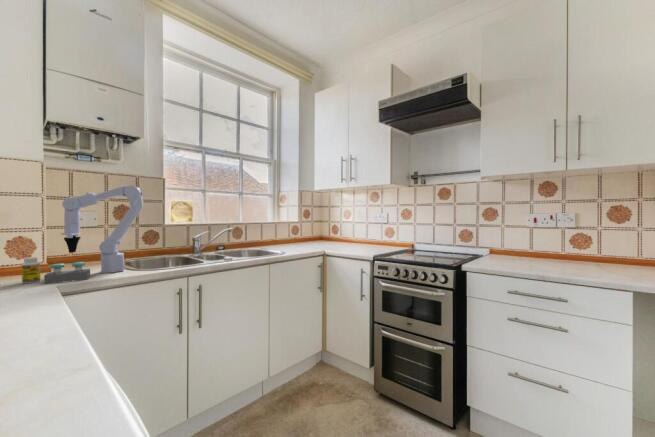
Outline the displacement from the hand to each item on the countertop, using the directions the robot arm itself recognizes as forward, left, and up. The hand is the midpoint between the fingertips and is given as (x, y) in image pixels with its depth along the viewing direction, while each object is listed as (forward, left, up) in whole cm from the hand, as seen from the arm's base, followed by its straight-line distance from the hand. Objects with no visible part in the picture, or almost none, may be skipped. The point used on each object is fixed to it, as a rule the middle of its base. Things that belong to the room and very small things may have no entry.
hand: (72, 252), depth 143 cm
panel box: (-1, +14, -10) cm, 17 cm away
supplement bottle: (+12, +11, -11) cm, 19 cm away
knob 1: (+3, +14, -8) cm, 16 cm away
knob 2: (-4, +14, -8) cm, 17 cm away
